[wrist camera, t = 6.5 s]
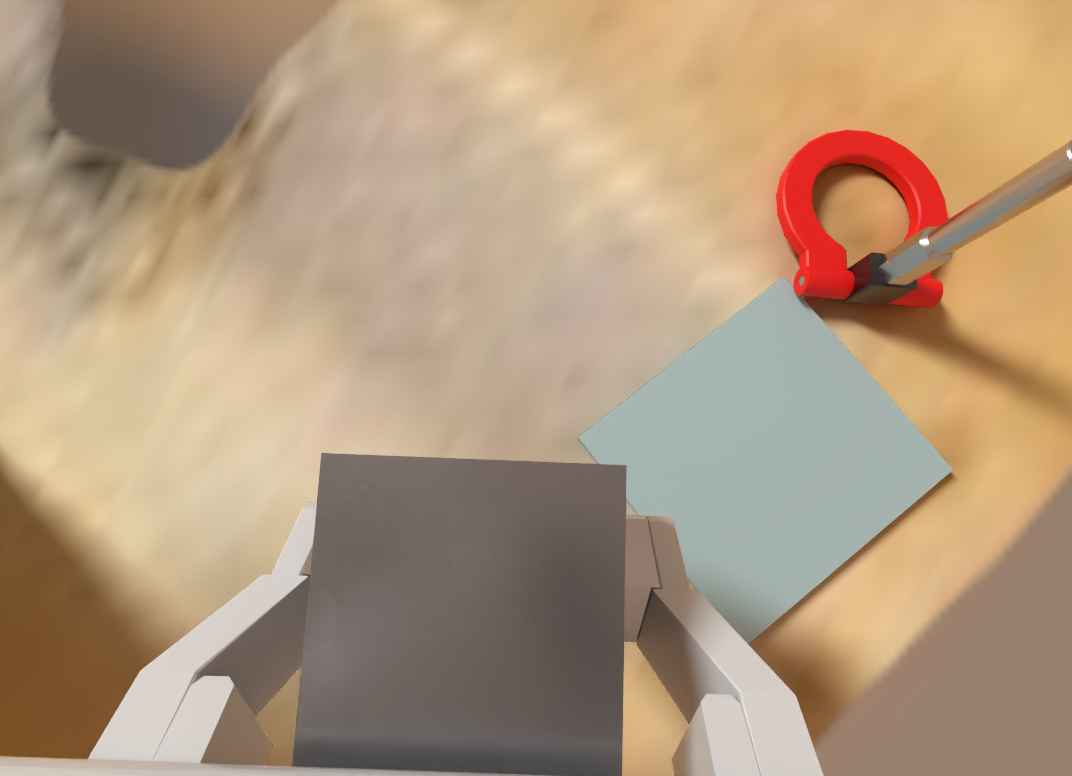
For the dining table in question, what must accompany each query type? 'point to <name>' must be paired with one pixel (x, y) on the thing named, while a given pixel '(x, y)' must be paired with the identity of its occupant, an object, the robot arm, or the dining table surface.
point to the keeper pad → (767, 457)
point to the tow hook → (930, 231)
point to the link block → (465, 617)
